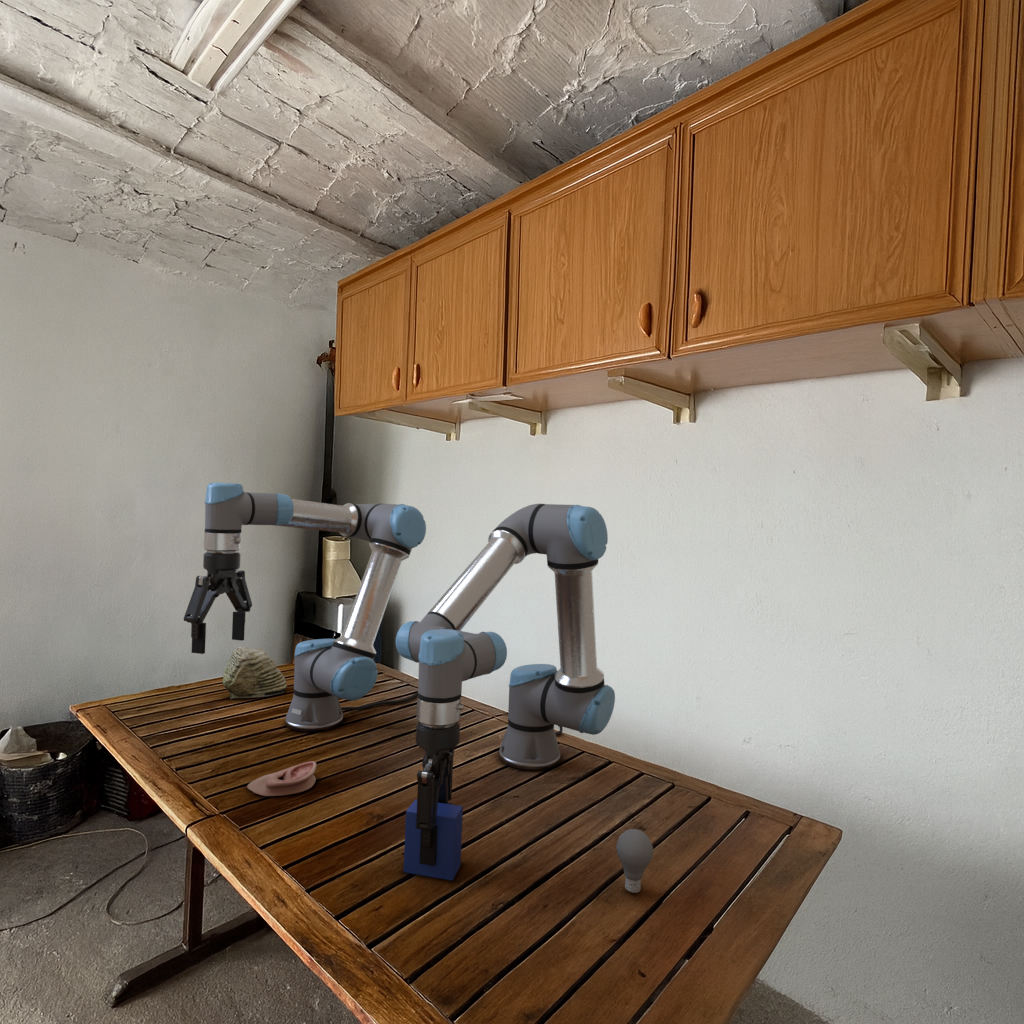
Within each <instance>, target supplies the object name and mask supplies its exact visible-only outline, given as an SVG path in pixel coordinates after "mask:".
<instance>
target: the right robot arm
mask: <svg viewBox="0 0 1024 1024" xmlns="http://www.w3.org/2000/svg"><path fill="white" fill-rule="evenodd" d="M608 540H609V538H608V528H607V524H606V521H605V519H604V517H603V515H602V513H600V512H599V511H598V509H596V508H594V507H591V506H585V505H581V504H557V503H556V504H554V503H553V504H552V503H533V504H529V505H527V506H524V507H522V508H520V509H517V510H516V511H515V512H513V513H512V514H511V513H510V515H508V516H507V517H506V518H505V519H504V520H502V521H501V522H500V523H499V524H498V525H497V526H496V527H495V528H494V529H493V530H492V531H491V532H490V534H489V535H488V539H487V542H488V543H487V544H486V545H485V546H484V547H483V548H482V549H481V550H480V552H479V553H478V554H477V555H476V557H475V558H473V560H472V561H471V562H470V564H468V566H467V567H466V568H465V569H464V571H463V572H462V573H461V574H460V575H459V576H458V577H457V578H456V580H454V582H453V583H452V584H451V585H450V587H449V588H448V589H447V590H446V591H445V592H444V594H443V595H441V597H440V598H439V599H438V600H437V602H436V603H435V604H434V605H433V606H432V607H431V608H430V610H429V611H428V612H427V613H426V614H425V615H424V616H423V618H422V619H421V620H420V621H417V620H414V621H413V620H412V621H411V620H410V621H407V622H405V623H404V624H402V625H401V626H400V627H399V629H398V631H397V633H396V636H395V649H396V651H397V653H398V654H399V655H400V656H401V657H402V658H404V659H407V660H410V661H412V662H414V663H418V679H417V680H418V685H417V692H418V695H417V696H416V697H417V699H416V715H415V716H416V717H415V718H416V720H417V722H416V725H415V726H416V727H415V743H416V746H418V747H419V748H421V749H422V750H423V751H424V752H425V753H424V755H423V757H422V763H421V767H422V770H420V769H419V770H418V771H417V772H416V780H417V781H416V782H417V797H416V799H417V819H416V823H415V826H416V828H417V829H421V838H420V862H419V863H420V864H426V865H432V866H435V865H436V853H437V830H438V826H437V825H436V816H437V807H438V802H439V803H446V804H453V803H452V802H449V801H451V800H452V797H453V774H454V773H453V772H454V771H453V770H454V755H455V749H456V747H458V746H459V744H460V738H461V737H460V736H461V724H460V723H461V722H459V721H460V720H461V711H463V710H464V708H465V706H464V704H462V702H461V701H462V693H463V692H462V690H463V689H462V688H463V682H466V681H468V680H471V679H475V678H478V677H481V676H485V675H486V676H487V675H490V674H492V673H494V672H496V671H498V670H499V669H501V668H502V667H503V666H504V664H506V661H507V657H508V656H507V655H508V648H507V645H506V641H505V640H504V639H503V636H501V635H500V634H498V633H497V632H496V631H495V632H494V631H481V632H479V633H473V632H468V631H464V630H463V628H464V627H465V626H466V625H467V623H468V622H469V621H470V620H471V618H472V617H473V616H474V615H475V614H476V612H477V611H478V610H479V608H480V607H481V606H482V605H483V604H484V602H485V601H486V600H487V599H488V598H489V596H490V595H491V593H492V592H493V591H494V590H495V589H496V587H497V586H498V585H499V584H500V582H501V581H502V580H503V578H505V576H506V575H507V574H508V572H509V571H510V570H511V569H512V568H513V566H514V565H518V564H521V563H522V562H523V561H524V559H525V558H526V557H527V556H530V555H534V554H538V555H546V565H547V567H548V569H550V570H551V571H552V572H553V573H554V586H555V587H554V588H555V601H556V602H555V604H556V618H557V633H558V634H557V636H558V637H557V638H558V650H559V652H558V653H559V665H560V667H559V669H558V668H557V666H555V665H554V664H549V663H531V664H524V665H520V666H519V665H518V666H517V667H515V668H513V669H512V670H511V672H510V675H509V676H510V677H509V683H508V709H507V727H506V730H505V733H504V735H503V738H502V740H501V743H500V746H499V751H498V752H499V753H498V758H499V759H500V761H501V762H502V763H503V764H505V765H506V766H507V767H511V768H514V769H517V770H523V771H544V770H549V769H552V768H554V767H556V766H557V765H559V764H560V761H561V750H560V747H559V744H558V739H557V736H560V735H561V734H562V733H563V728H565V729H569V730H573V731H576V732H578V733H579V734H587V735H592V736H595V735H598V734H600V733H602V732H603V731H604V730H605V728H606V727H607V726H608V724H609V722H610V720H611V718H612V716H613V713H614V708H615V703H616V702H615V701H616V693H615V690H614V688H613V687H612V686H610V685H609V684H605V673H604V672H603V670H601V669H600V668H599V667H598V661H597V660H598V659H597V639H596V618H595V617H596V616H595V600H594V599H595V598H594V580H593V578H594V577H593V570H594V569H595V568H596V567H597V566H598V565H599V559H601V558H602V557H604V555H605V553H606V551H607V545H608ZM462 630H463V631H462ZM555 726H557V727H558V728H559V731H555ZM453 805H454V804H453Z"/></svg>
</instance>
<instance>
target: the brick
mask: <svg viewBox="0 0 1024 1024" xmlns="http://www.w3.org/2000/svg"><path fill="white" fill-rule="evenodd" d="M463 815H464V805H458V804H446V803H439V802H438V807H437V816H436V825H437V826H438V830H437V853H436V865H435V866H432V865H426V864H420V863H419V862H420V838H421V829H417V828H416V826H415V823H416V819H417V798H415V799H414V800H413V801H412V802H411V804H410V806H408V808H407V810H406V811H405V824H404V825H405V826H404V827H405V828H404V849H403V850H404V851H403V853H404V854H403V873H406V874H412V875H417V876H424V877H429V878H434V879H441V880H447V881H452V882H453V880H454V879H455V877H456V875H457V873H458V872H459V870H460V867H461V865H462V864H461V861H462V859H461V858H462V843H463V842H462V838H463V818H464V817H463Z"/></svg>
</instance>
